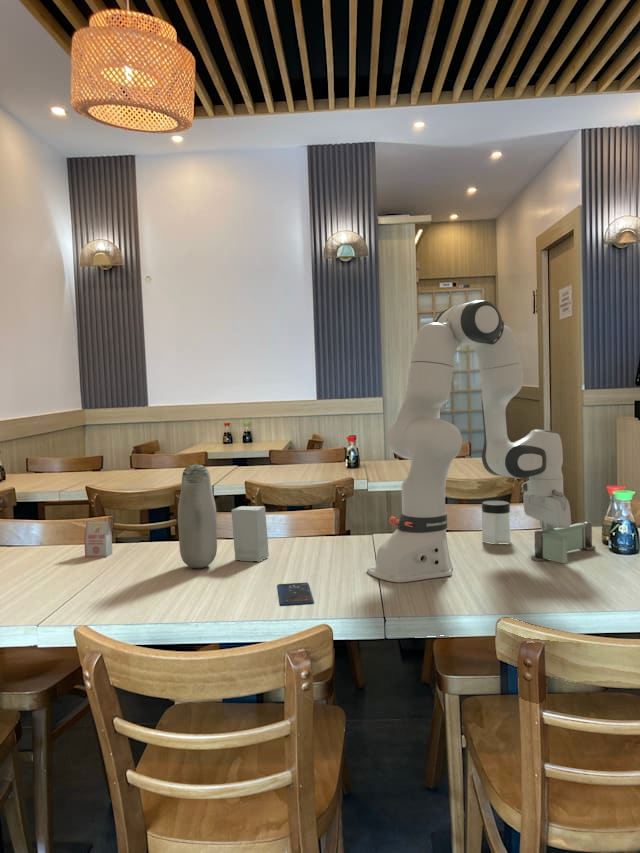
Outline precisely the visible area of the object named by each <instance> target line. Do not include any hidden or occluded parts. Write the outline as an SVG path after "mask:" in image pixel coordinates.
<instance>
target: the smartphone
mask: <svg viewBox="0 0 640 853" xmlns="http://www.w3.org/2000/svg"><path fill="white" fill-rule="evenodd" d="M311 590H312V589H311V587H310V584H309V582H295V583H294V582H293V583H292V582H291V583H278V584H277V593H278V602H279V606H281V607H285V606H287V607H288V606H296V605H299V606H300V605H314V604H315V602H314V598H313V597H314V596H313V595H312V591H311Z"/></svg>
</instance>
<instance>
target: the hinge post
mask: <svg viewBox="0 0 640 853" xmlns="http://www.w3.org/2000/svg"><path fill="white" fill-rule="evenodd" d="M581 523H583V524H585V547H584V548H581V549H580V550H582V549H585V550H584V551H595V550H596V546H595V545H593V523H592V521H581ZM594 549H595V550H594Z"/></svg>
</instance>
